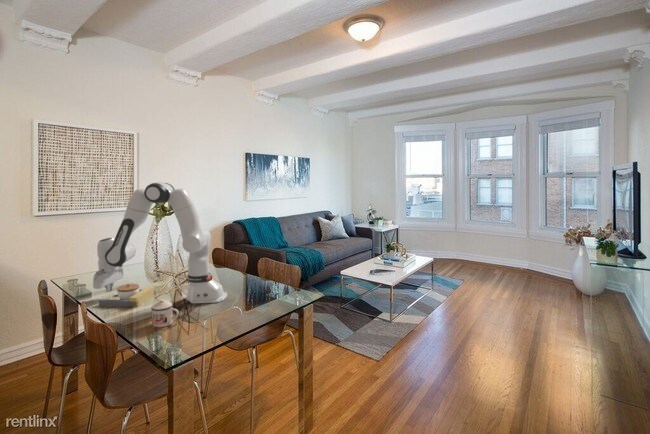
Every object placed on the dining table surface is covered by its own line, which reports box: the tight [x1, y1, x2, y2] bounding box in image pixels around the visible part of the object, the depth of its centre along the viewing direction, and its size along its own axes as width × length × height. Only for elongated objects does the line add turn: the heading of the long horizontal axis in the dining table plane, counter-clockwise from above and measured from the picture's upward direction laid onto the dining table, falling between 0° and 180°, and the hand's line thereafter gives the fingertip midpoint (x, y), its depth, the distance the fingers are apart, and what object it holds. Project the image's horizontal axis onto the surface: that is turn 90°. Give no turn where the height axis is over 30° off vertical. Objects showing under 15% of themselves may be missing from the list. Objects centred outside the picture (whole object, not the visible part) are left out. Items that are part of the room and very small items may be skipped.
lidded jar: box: [116, 283, 140, 300], centre depth 187 cm, size 11×11×9 cm
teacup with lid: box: [150, 299, 180, 328], centre depth 159 cm, size 12×9×12 cm
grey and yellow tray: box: [98, 285, 156, 308], centre depth 187 cm, size 21×18×5 cm
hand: (109, 291), depth 188 cm, fingers closed
